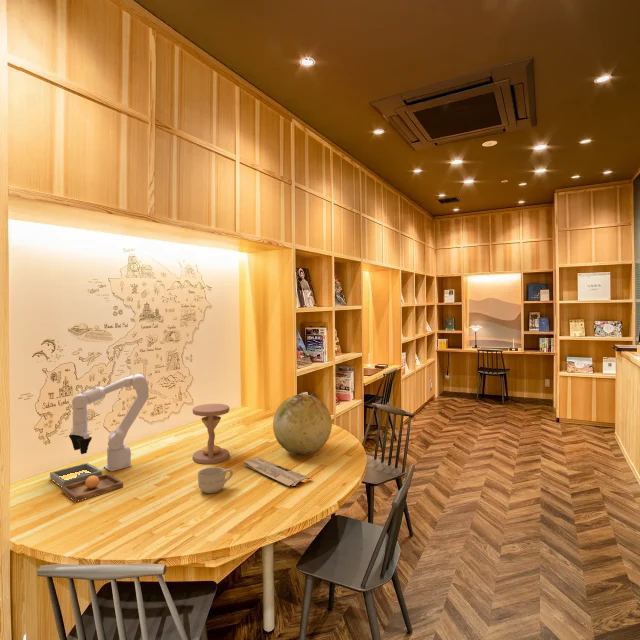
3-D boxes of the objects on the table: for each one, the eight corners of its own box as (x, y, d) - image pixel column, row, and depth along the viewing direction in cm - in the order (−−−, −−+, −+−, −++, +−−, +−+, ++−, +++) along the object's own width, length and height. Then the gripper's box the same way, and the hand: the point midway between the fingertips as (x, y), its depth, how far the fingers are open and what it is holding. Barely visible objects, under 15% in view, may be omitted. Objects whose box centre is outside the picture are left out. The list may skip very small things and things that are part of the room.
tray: (107, 478, 180) (107, 473, 180) (123, 487, 171) (123, 482, 171) (61, 492, 166) (61, 486, 166) (75, 502, 157) (75, 497, 157)
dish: (87, 469, 190) (87, 462, 190) (101, 477, 180) (101, 470, 180) (50, 479, 178) (50, 472, 178) (63, 489, 169) (63, 481, 169)
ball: (96, 484, 172) (95, 472, 172) (101, 487, 169) (101, 475, 169) (83, 488, 168) (82, 476, 168) (88, 491, 165) (88, 479, 165)
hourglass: (224, 464, 197) (224, 411, 196) (188, 464, 197) (187, 411, 196) (232, 451, 215) (232, 403, 214) (198, 451, 214) (198, 403, 214)
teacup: (197, 497, 162) (197, 477, 162) (197, 486, 172) (197, 467, 172) (233, 493, 166) (233, 473, 166) (232, 482, 176) (232, 463, 176)
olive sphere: (287, 441, 232) (287, 387, 231) (338, 447, 222) (339, 391, 221) (262, 459, 204) (262, 398, 203) (320, 467, 194) (320, 403, 193)
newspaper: (311, 481, 179) (311, 473, 178) (290, 491, 169) (290, 482, 169) (259, 461, 202) (259, 454, 202) (238, 468, 193) (238, 460, 193)
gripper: (64, 420, 187) (64, 450, 188) (76, 426, 178) (77, 457, 178) (80, 417, 193) (81, 446, 193) (94, 422, 184) (94, 453, 184)
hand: (80, 451), depth 186 cm, fingers open, 7 cm apart
